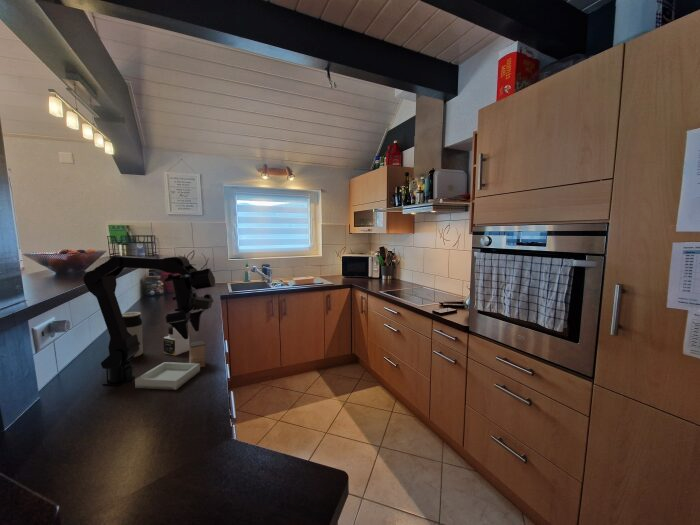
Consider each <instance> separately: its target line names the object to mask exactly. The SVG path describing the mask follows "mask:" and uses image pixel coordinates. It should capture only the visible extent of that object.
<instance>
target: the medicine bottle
mask: <svg viewBox="0 0 700 525" xmlns="http://www.w3.org/2000/svg"><path fill="white" fill-rule="evenodd" d="M167 330H168V331H167V332H168V335H167V336H164V337H163V354H166V355H170V356H179V355H180V354H183V353H186V352H189V343H190V335H189V334H188V339H184V338H183V337H182V336H181V335H180V334H179V332H178V331H177V330H176V329H175V328H174V327H173V326H172V325H170V326H168V328H167Z"/></svg>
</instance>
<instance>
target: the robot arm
mask: <svg viewBox="0 0 700 525" xmlns="http://www.w3.org/2000/svg"><path fill="white" fill-rule="evenodd" d="M126 268H127V269H146V270H158V271H161V272H163V273H167V274H168V275H167V277H166V278H165V279H164V282H165V283H166V282H171V283H172V285H171V286H172V290H173V293H174V294H173V295H174V296H172V297H171V298H172V300H173V301H175V303H176V308H174V311H172V312H170V313H167V314H166V316H165V324H169V325H170V326H171V325H172V326H173V327H174V328H175V329H176V330H177V331H178V332H179V334H180V335H181V336H182V337H183V338H184V339H188V335H189V323H190V324H191V326H192V328H193V329H194V331H195V332H199V331H200V325H201V318H202V315H203V313H204V312H205V311H206V310H207V311H208V310H209V309H210V308H211V309H212V304H213V303H214V300H213V299H214V298H212V295H211V294H210V293H205V294H204V296H198V294H197V292H194V290H193V289H195V290H197V291H198V290H202V289H209V288H214V287H215V286H216V278H215V276H214V274H213V272H212V270H211V268H204V269H200V270H198V269H197V268H195V267H194V266H193V265H192V264H191V263H190V260H189V259H188V258H187V257H186V256H182V255H181V256H180V255H179V256H171V257H162V258H159V257H146V256H145V257H143V256H127V255H113V256H112V257H110V258H108V260H107V261H104V262H103V263H101V264H99V265H98V266H96V267H95V268H93V269H92V270H88V271H87V272H86V273H84V276H83V278H82V281H83V283H84V286H85V287H86V288H87V290H88V291H87V292H90V294H91V295H92V296H94V297H95V299H97V303H98V306H99V309H100V311H101V314H102V317H103V320H104V323H105V327H106V329H107V332H108V334H109V343H108V346H107V347H108V348H107V350H108V356H107V357H105V359H104V360H102V361H101V363H100V365H101V367H102V369H103V370H106V381H104V382H102V386H103V385H104V386H105V385H106V386H122V385H123V384H125V383H127V382H129V381H131V380H132V379H135V377H136V375H133V366H132V362H131V360H133V359H134V358H135V357H134V355H135V354H136V353H137V352H138V350H139V345H140V343H139V341H138V337H137V335H136V334H135V335H133V336H132V335H131V334H130V333H129V332H128V331H127V328H126V325H125V322H124V319H123V316H122V313H123V312H122V310H121V307H120V305H119V301H118V299H117V296H116V288H117V285H118V284H117V277H118V276H119V275H121V274H122V272H123V271H124V269H126Z"/></svg>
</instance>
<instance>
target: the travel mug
mask: <svg viewBox="0 0 700 525" xmlns="http://www.w3.org/2000/svg"><path fill="white" fill-rule="evenodd" d="M121 313H122V316H123V319H124V322H125V325H126V328H127V331H128V332H129V333H130V334H131V335H132V336H133V335H135V334H136V335H137V337H138V341H139V343H140V345H139V350H138V352H137V353H136V354H135V355H134V358H137V357H139V356H141V355H143V350H144V348H143V319H142V318H141V314H142V312H140V311H129V312H121Z"/></svg>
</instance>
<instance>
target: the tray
mask: <svg viewBox="0 0 700 525" xmlns="http://www.w3.org/2000/svg"><path fill="white" fill-rule="evenodd" d="M200 372H201V367H200V364H198V363H189V362H172V361H171V362H170V361H164V362H162V363H160V364H158V365H157V366H155V367H152V368H151V369H150V370H148V371H146V372H145V373H143V374H141V375H140V376H138V377H136V378H134V389H153V390H154V389H155V390H175V391H176V390H178V389H179V388H180V387H182V386H183V385H184V384H186V383H187V382H188V381H189V380H191V379H192V378H194V377H195V376H196V375H197V374H199V373H200Z"/></svg>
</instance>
